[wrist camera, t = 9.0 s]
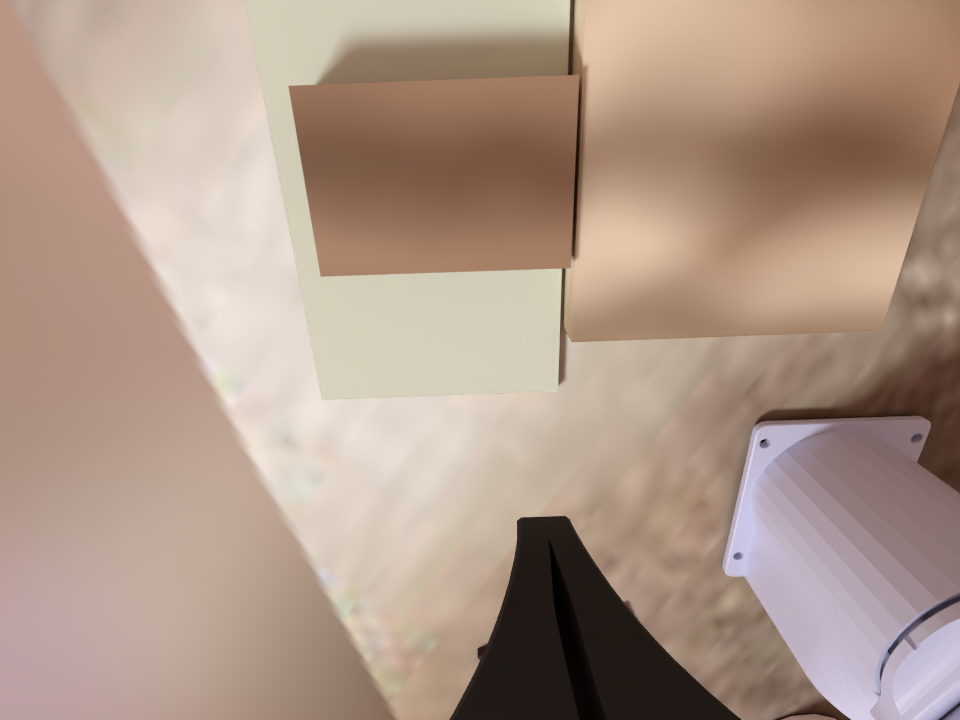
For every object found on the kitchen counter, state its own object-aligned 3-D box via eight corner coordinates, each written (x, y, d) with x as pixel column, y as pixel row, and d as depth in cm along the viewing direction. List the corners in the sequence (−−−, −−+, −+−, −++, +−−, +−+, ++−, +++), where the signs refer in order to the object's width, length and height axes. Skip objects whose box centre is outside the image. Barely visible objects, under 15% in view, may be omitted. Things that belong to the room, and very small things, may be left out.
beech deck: (844, 314, 20) (881, 330, 19) (563, 325, 20) (571, 342, 19) (943, -37, 16) (1005, -62, 14) (574, -20, 16) (587, -43, 14)
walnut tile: (561, 256, 19) (570, 268, 17) (335, 264, 19) (320, 276, 17) (568, 83, 17) (579, 74, 15) (309, 93, 17) (288, 85, 15)
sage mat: (556, 387, 22) (558, 391, 21) (324, 395, 22) (321, 400, 21) (572, -142, 14) (574, -149, 14) (226, -125, 15) (219, -132, 14)
